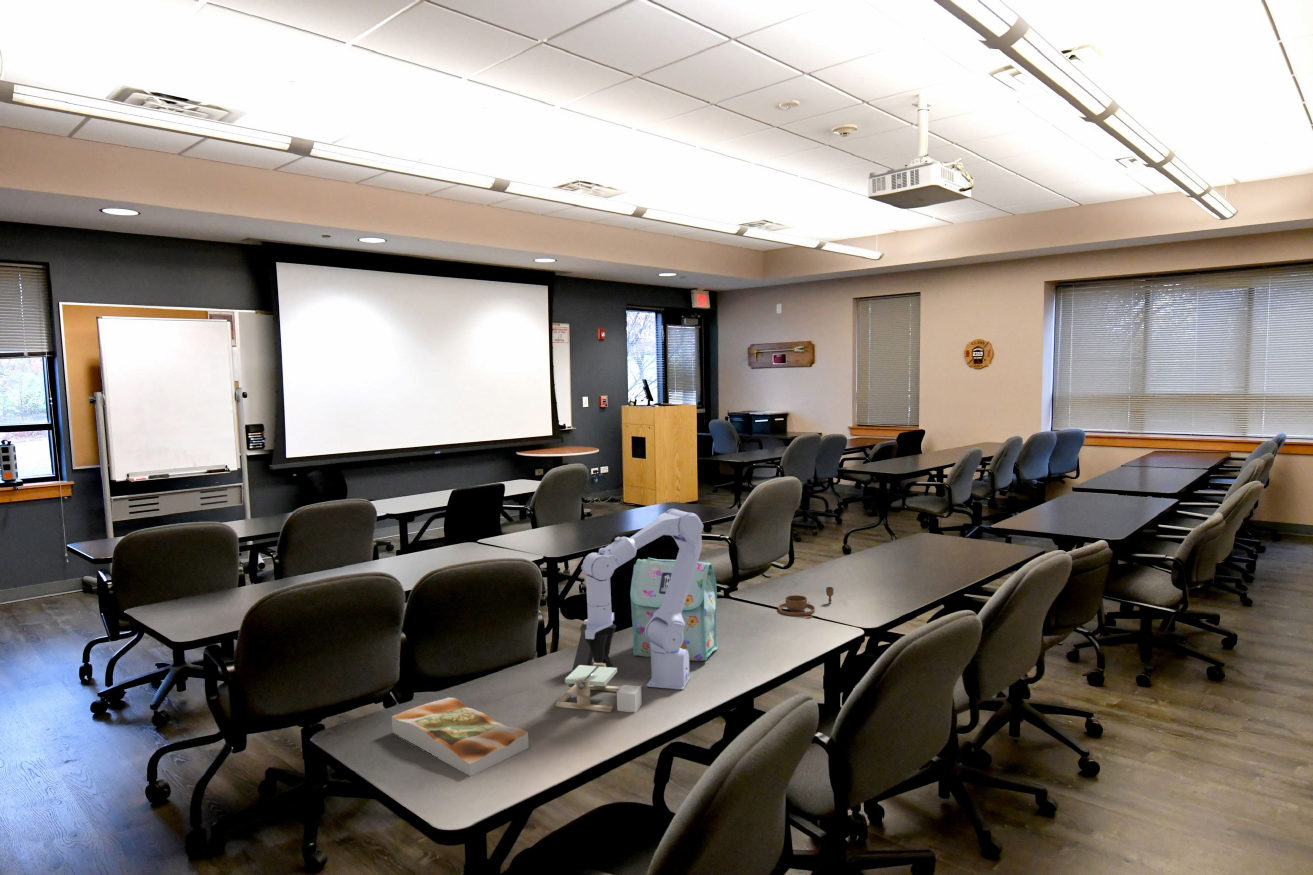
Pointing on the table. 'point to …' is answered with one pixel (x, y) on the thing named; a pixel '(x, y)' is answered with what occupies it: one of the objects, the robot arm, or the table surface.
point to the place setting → (801, 604)
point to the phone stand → (586, 652)
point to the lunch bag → (696, 611)
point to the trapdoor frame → (585, 695)
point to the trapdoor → (591, 675)
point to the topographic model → (459, 735)
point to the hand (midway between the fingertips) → (601, 658)
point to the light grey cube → (629, 698)
